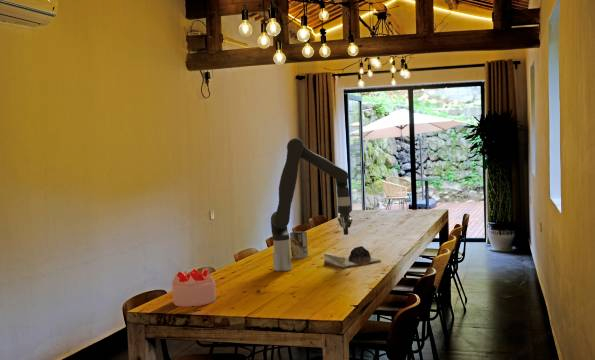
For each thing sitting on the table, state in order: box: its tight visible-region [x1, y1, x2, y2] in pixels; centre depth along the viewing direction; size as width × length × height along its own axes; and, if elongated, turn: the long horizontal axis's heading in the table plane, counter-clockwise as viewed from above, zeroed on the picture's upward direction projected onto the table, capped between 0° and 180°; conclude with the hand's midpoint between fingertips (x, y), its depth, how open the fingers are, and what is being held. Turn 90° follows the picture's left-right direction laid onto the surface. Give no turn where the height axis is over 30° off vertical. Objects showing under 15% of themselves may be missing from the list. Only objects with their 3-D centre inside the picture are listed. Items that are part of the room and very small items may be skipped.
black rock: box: [348, 245, 372, 262], centre depth 353 cm, size 13×14×10 cm
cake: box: [171, 268, 217, 308], centre depth 282 cm, size 20×20×14 cm
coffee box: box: [289, 231, 309, 259], centre depth 381 cm, size 9×6×16 cm
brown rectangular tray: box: [323, 252, 382, 269], centre depth 351 cm, size 26×20×6 cm
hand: (346, 234), depth 349 cm, fingers closed
